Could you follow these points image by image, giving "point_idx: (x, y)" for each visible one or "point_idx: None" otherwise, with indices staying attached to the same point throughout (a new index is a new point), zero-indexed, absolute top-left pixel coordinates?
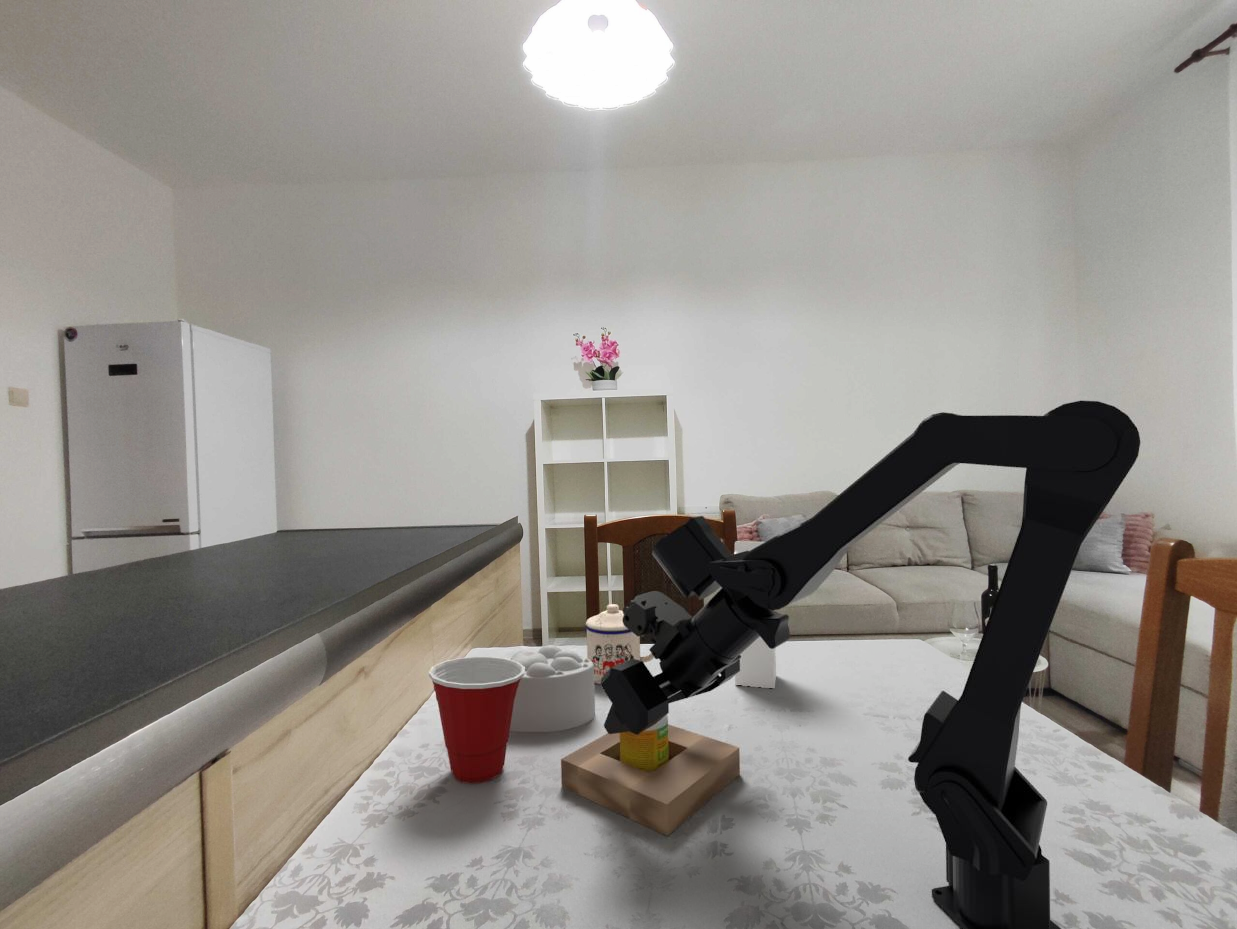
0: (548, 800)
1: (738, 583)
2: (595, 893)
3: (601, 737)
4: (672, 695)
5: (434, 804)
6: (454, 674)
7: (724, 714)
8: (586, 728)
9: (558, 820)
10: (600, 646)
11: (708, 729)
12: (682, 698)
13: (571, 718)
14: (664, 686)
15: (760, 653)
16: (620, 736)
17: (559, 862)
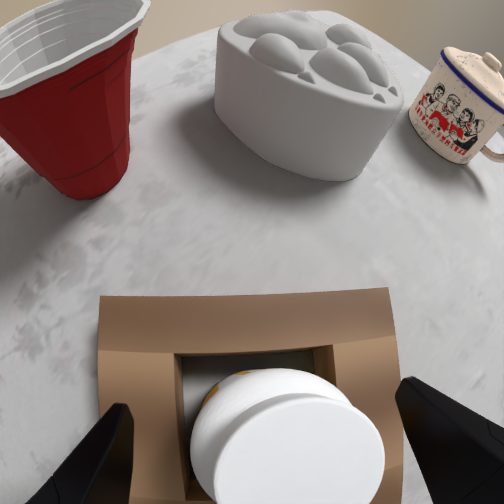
0: (76, 321)
1: None
2: (9, 492)
3: (239, 299)
4: (424, 444)
5: (13, 197)
6: (81, 17)
7: (496, 342)
8: (315, 194)
9: (50, 374)
10: (444, 89)
11: (458, 365)
12: (423, 476)
13: (300, 162)
14: (438, 418)
15: None
16: (206, 400)
17: (4, 431)
